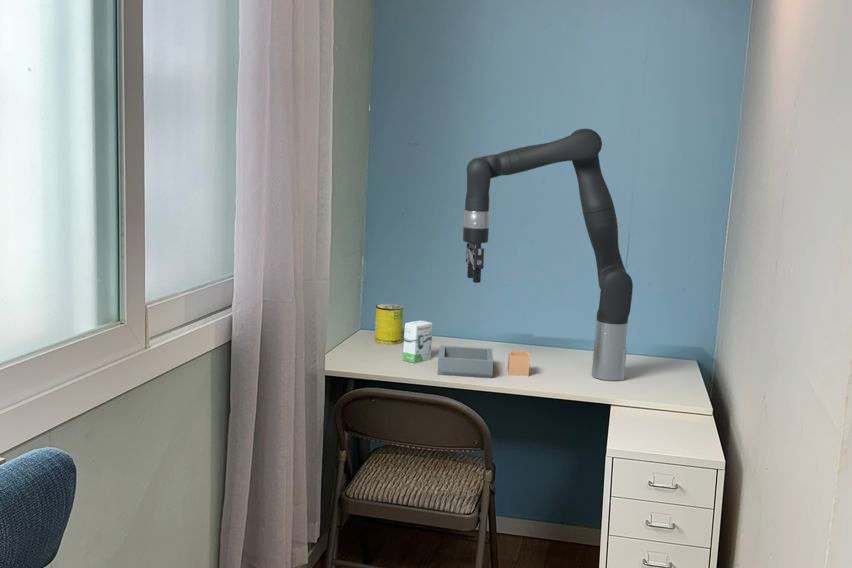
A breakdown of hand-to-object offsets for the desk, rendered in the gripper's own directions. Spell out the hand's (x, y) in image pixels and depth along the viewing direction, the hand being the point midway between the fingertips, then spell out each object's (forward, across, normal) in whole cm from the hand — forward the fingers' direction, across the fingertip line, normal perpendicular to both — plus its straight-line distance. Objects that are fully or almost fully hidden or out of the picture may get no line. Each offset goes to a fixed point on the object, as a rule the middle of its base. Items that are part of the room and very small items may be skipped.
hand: (473, 280), depth 267 cm
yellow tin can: (+27, +33, +21) cm, 48 cm away
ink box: (+27, +10, +15) cm, 32 cm away
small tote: (+28, -4, -14) cm, 31 cm away
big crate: (+27, -1, +2) cm, 27 cm away
